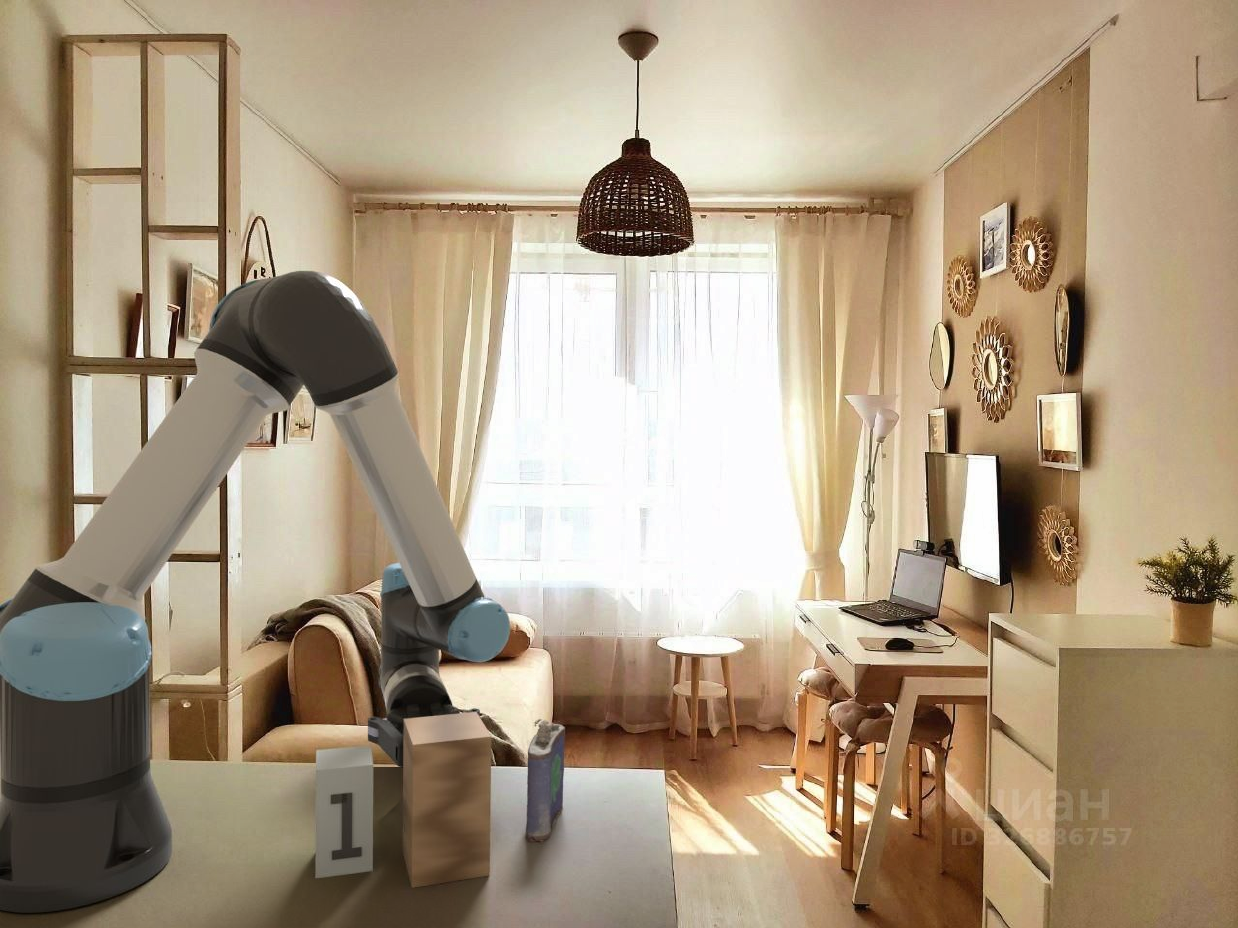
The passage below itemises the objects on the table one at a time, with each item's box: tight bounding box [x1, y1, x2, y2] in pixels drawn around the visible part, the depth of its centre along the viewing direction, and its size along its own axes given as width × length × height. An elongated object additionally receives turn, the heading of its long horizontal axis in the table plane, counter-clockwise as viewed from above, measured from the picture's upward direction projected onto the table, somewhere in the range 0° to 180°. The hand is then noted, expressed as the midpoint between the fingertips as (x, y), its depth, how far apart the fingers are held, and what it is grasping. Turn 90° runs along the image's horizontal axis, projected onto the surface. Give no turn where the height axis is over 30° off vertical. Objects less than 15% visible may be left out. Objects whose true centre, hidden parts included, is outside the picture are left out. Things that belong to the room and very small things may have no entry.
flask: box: [525, 718, 566, 843], centre depth 93 cm, size 9×3×11 cm, turn 172°
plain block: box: [402, 712, 492, 888], centre depth 84 cm, size 7×7×13 cm
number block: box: [315, 744, 374, 879], centre depth 84 cm, size 5×5×10 cm
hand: (443, 779), depth 88 cm, fingers closed
